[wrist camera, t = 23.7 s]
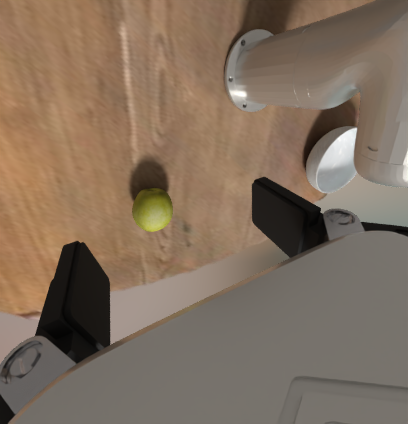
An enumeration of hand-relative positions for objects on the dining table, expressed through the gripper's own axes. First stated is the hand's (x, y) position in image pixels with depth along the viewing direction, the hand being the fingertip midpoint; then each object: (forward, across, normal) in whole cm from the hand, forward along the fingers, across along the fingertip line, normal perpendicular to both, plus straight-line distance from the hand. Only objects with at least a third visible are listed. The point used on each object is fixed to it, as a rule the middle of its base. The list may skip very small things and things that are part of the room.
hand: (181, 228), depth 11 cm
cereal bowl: (+31, -47, +17) cm, 59 cm away
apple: (+31, +1, +14) cm, 34 cm away
